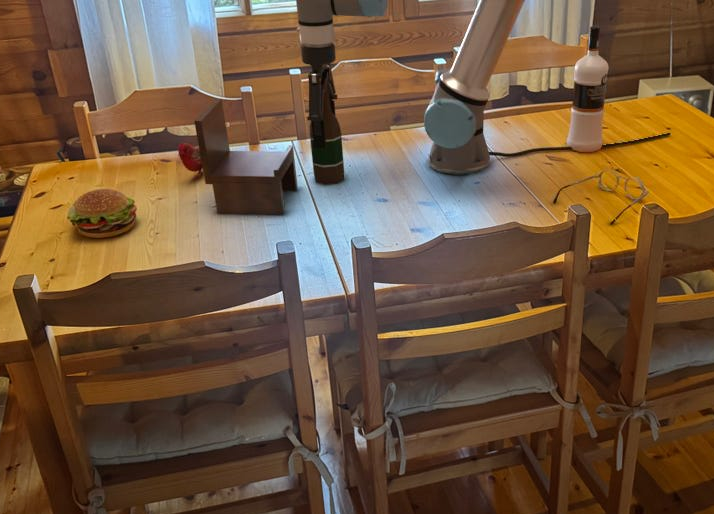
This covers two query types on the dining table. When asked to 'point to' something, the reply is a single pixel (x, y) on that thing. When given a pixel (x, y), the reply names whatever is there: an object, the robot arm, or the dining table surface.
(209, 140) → the shelf stand
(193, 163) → the decorative bird figurine
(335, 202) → the dining table surface
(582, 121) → the vodka
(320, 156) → the beer bottle
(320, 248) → the dining table surface
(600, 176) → the eyeglasses
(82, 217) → the food
